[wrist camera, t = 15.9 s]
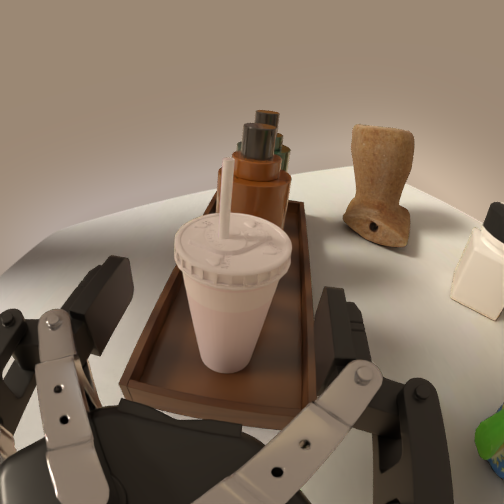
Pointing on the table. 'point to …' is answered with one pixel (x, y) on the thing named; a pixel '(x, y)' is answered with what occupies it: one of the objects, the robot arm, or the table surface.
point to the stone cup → (380, 184)
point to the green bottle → (279, 149)
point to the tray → (259, 367)
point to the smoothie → (230, 277)
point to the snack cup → (492, 441)
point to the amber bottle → (258, 177)
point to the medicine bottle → (483, 267)
